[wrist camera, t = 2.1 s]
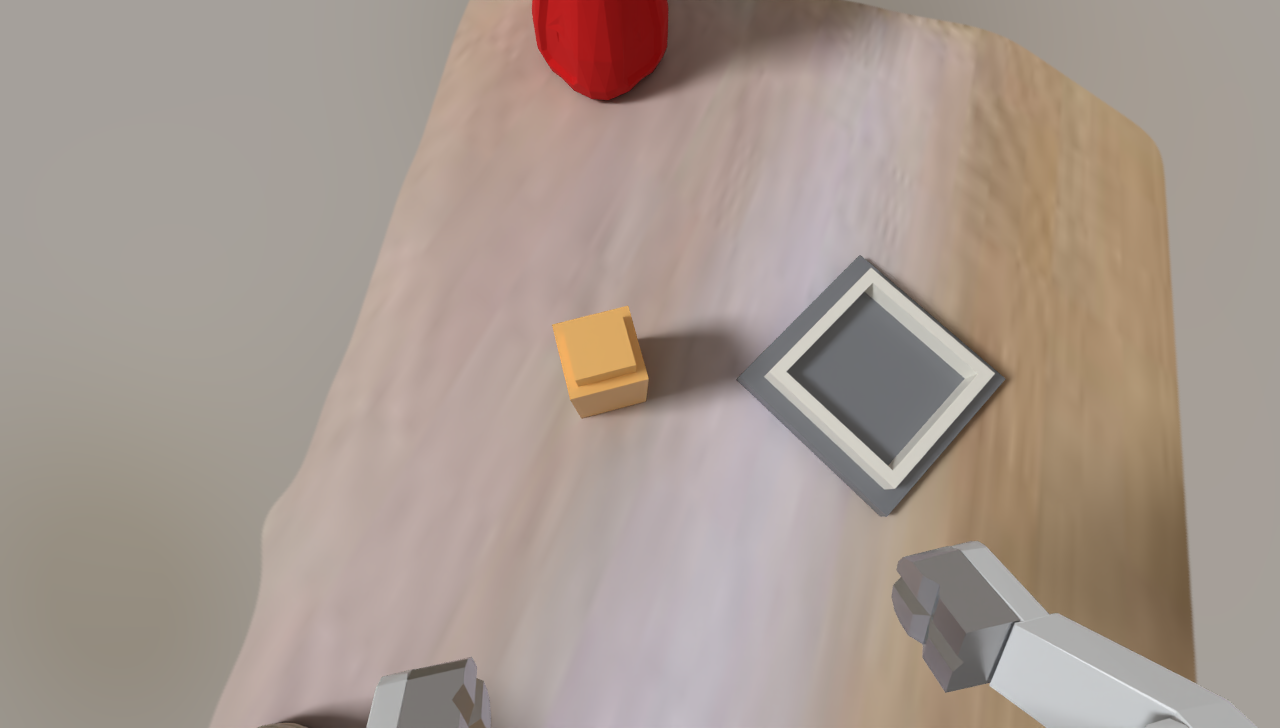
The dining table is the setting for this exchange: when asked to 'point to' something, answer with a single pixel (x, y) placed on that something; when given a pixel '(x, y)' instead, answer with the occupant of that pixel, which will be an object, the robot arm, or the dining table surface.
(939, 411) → the base
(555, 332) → the stepped orange block
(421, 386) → the dining table surface
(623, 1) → the water bottle
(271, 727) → the carving
